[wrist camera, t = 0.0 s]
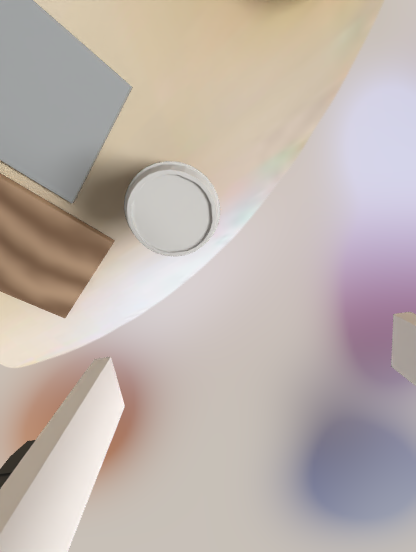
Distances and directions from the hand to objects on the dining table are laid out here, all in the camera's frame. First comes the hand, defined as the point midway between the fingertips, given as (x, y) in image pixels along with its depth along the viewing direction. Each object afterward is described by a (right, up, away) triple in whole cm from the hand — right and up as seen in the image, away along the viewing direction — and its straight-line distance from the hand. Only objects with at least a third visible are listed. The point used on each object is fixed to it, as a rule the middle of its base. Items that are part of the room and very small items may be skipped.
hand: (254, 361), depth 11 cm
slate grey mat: (-22, +23, +16) cm, 36 cm away
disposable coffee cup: (-6, +16, +22) cm, 28 cm away
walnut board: (-29, +8, +26) cm, 39 cm away
